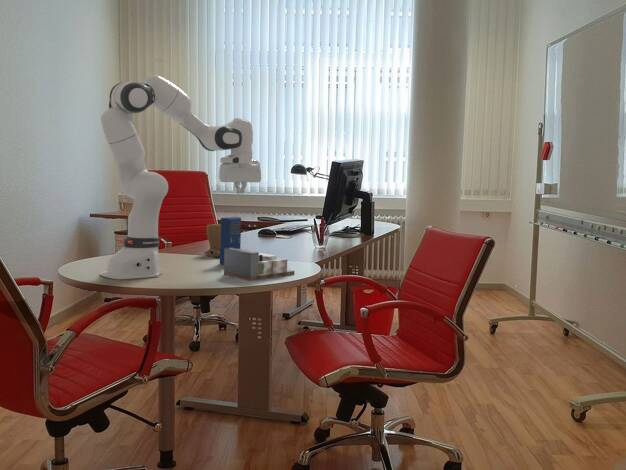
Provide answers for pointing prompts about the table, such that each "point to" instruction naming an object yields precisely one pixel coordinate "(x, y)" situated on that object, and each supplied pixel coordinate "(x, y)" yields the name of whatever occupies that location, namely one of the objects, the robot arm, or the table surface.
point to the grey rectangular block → (241, 262)
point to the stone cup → (214, 240)
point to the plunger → (267, 257)
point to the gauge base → (267, 270)
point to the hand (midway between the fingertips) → (240, 193)
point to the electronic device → (230, 234)
